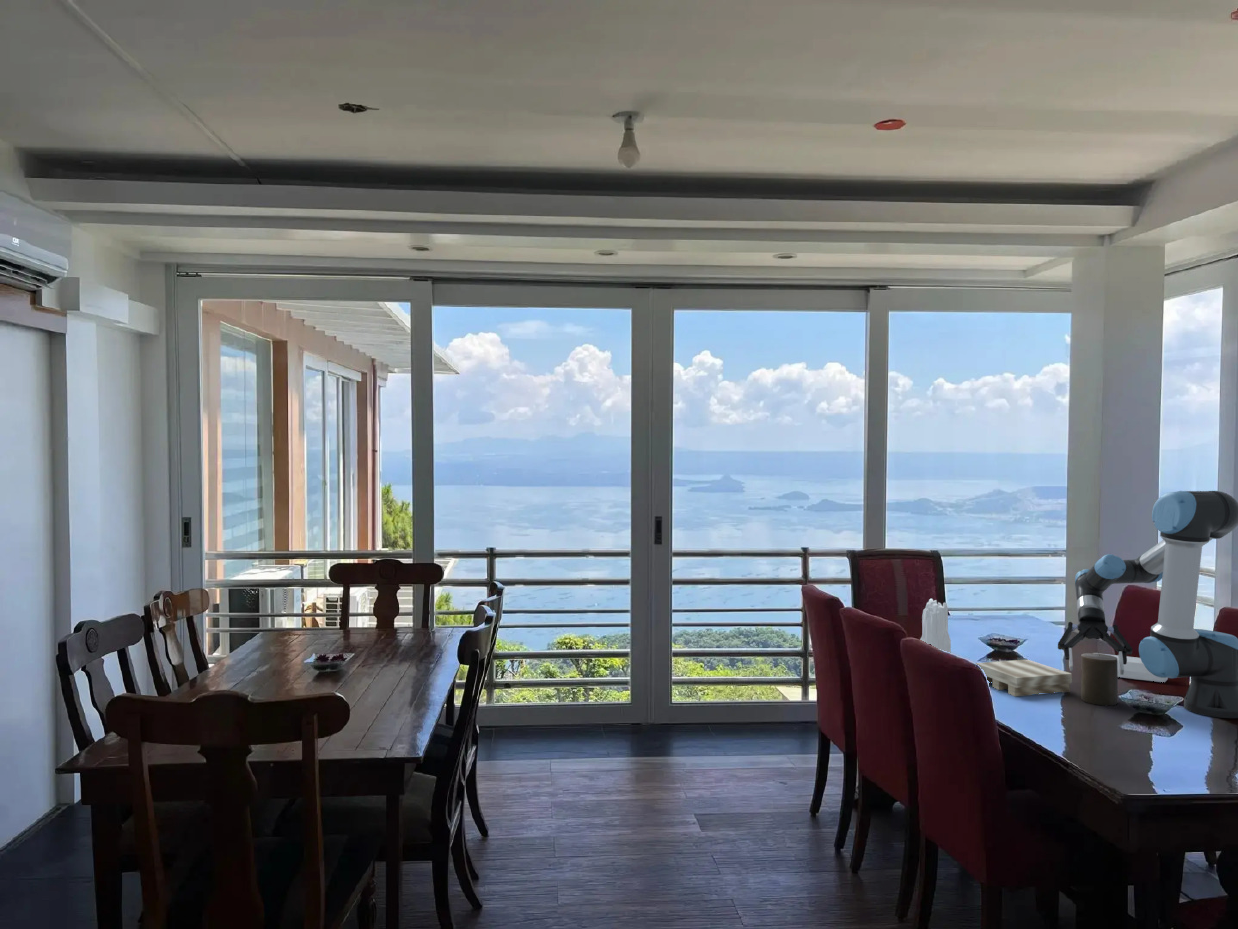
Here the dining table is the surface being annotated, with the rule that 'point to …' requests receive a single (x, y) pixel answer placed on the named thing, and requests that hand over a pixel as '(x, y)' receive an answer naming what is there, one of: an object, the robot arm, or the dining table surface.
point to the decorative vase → (936, 625)
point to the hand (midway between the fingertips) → (1096, 670)
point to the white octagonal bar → (1136, 670)
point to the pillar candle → (1099, 679)
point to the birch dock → (1026, 677)
